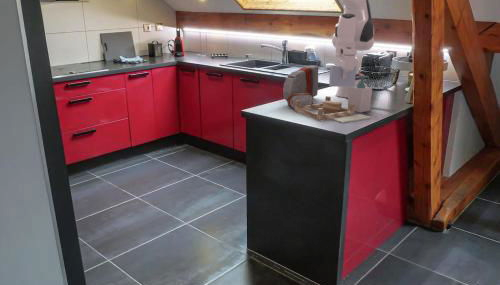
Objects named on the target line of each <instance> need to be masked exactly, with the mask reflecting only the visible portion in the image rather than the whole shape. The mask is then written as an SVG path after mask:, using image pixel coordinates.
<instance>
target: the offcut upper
mask: <svg viewBox="0 0 500 285" xmlns="http://www.w3.org/2000/svg"><path fill="white" fill-rule="evenodd" d="M322 103H323V108H330V109H338V110H340V109H341V107H342V105H343V104H342V102H341V101H332V100H331V101H325V100H323V102H322Z"/></svg>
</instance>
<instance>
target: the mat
mask: <svg viewBox="0 0 500 285" xmlns="http://www.w3.org/2000/svg"><path fill="white" fill-rule="evenodd" d="M370 119H372V118H371V116H368V115H365V114H363V113H358V114H354V115H352V116H346V117H339V118H333V119H332V120H333V121H335V122H337V123H340V122H341V123H340V124H346V123H351V122H357V121H364V120H370Z"/></svg>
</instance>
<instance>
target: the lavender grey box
mask: <svg viewBox="0 0 500 285" xmlns="http://www.w3.org/2000/svg"><path fill="white" fill-rule="evenodd" d="M329 67H330V69H329V79H328V81H329V82H328V86H329V87H337V88H338V87H354V86H355V76H356V66H355V65H354V69H353V71H348V72H347V75H346V79H343V78H342V74H343V69H341V66H340V65H335V64H331V65H330V66H329Z"/></svg>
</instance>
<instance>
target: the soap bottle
mask: <svg viewBox="0 0 500 285" xmlns="http://www.w3.org/2000/svg"><path fill="white" fill-rule="evenodd" d="M363 75H364V74H363ZM363 75H359V76H360V81H359V83H358V84H357V85H355V86H354V87H349V98H348V99H347V108H346V109H349V104H355V109H354V113H355V112H356V113H358V114H362V113H365V112H369V111H370V110H371V106H372V105H371V103H372V96H373V87H372V86H368V85H367V86H365V84H366V83H365V82H364V78H367V79H369V78H370V76H369V75H364V76H363ZM364 83H365V84H364Z"/></svg>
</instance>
